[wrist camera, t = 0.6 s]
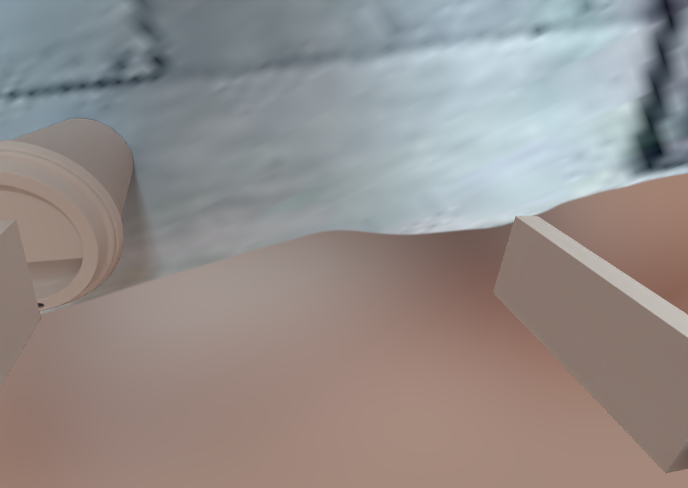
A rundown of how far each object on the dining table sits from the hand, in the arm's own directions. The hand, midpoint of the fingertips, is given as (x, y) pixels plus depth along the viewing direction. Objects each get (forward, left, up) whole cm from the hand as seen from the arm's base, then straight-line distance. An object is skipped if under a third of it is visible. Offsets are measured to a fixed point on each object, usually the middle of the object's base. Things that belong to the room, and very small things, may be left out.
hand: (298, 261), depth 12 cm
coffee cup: (+4, -13, -27) cm, 30 cm away
